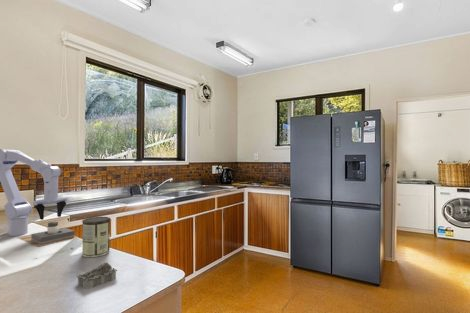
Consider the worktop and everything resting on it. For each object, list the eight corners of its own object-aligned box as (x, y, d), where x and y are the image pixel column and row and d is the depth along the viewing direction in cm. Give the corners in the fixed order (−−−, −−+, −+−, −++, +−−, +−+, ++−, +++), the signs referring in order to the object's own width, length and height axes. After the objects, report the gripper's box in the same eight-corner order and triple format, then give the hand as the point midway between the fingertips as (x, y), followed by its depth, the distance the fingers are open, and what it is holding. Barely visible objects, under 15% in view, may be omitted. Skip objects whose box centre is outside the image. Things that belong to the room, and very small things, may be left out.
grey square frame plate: (40, 244, 118) (41, 237, 118) (31, 240, 123) (31, 233, 123) (74, 237, 130) (74, 230, 130) (64, 233, 135) (64, 227, 135)
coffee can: (92, 248, 117) (92, 216, 117) (114, 249, 116) (115, 216, 116) (75, 256, 107) (76, 221, 107) (100, 258, 106) (100, 222, 106)
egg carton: (108, 273, 93) (108, 261, 93) (119, 279, 88) (119, 267, 88) (74, 283, 85) (75, 270, 85) (84, 291, 80) (84, 277, 80)
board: (16, 239, 128) (16, 237, 128) (55, 231, 142) (56, 229, 142) (38, 249, 115) (38, 247, 115) (79, 239, 129) (79, 237, 129)
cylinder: (46, 238, 124) (46, 224, 124) (48, 236, 127) (48, 222, 128) (58, 236, 126) (58, 223, 126) (59, 234, 130) (59, 221, 130)
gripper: (37, 192, 125) (37, 221, 124) (70, 189, 137) (70, 216, 137) (31, 191, 128) (30, 219, 128) (63, 188, 141) (63, 214, 140)
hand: (50, 217), depth 133 cm, fingers open, 7 cm apart
